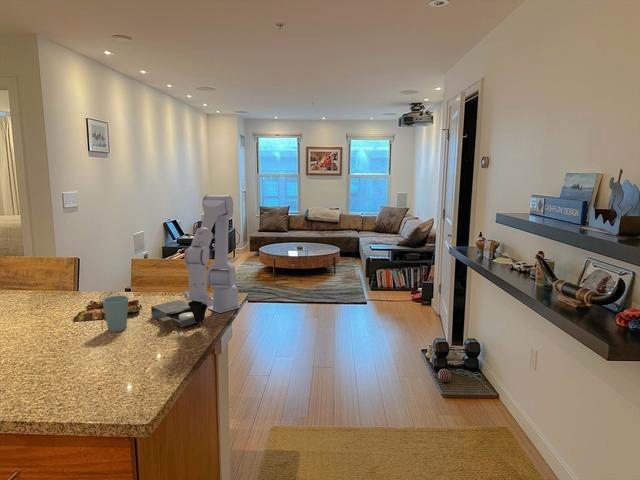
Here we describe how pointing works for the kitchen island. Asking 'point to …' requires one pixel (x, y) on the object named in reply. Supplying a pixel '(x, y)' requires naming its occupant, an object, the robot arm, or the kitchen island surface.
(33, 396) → the kitchen island surface
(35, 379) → the kitchen island surface
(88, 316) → the crumpled patterned cloth
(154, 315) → the shiny gray metal block
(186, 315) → the white rounded dome
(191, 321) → the tray
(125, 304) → the cup
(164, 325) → the brown cardboard cube
